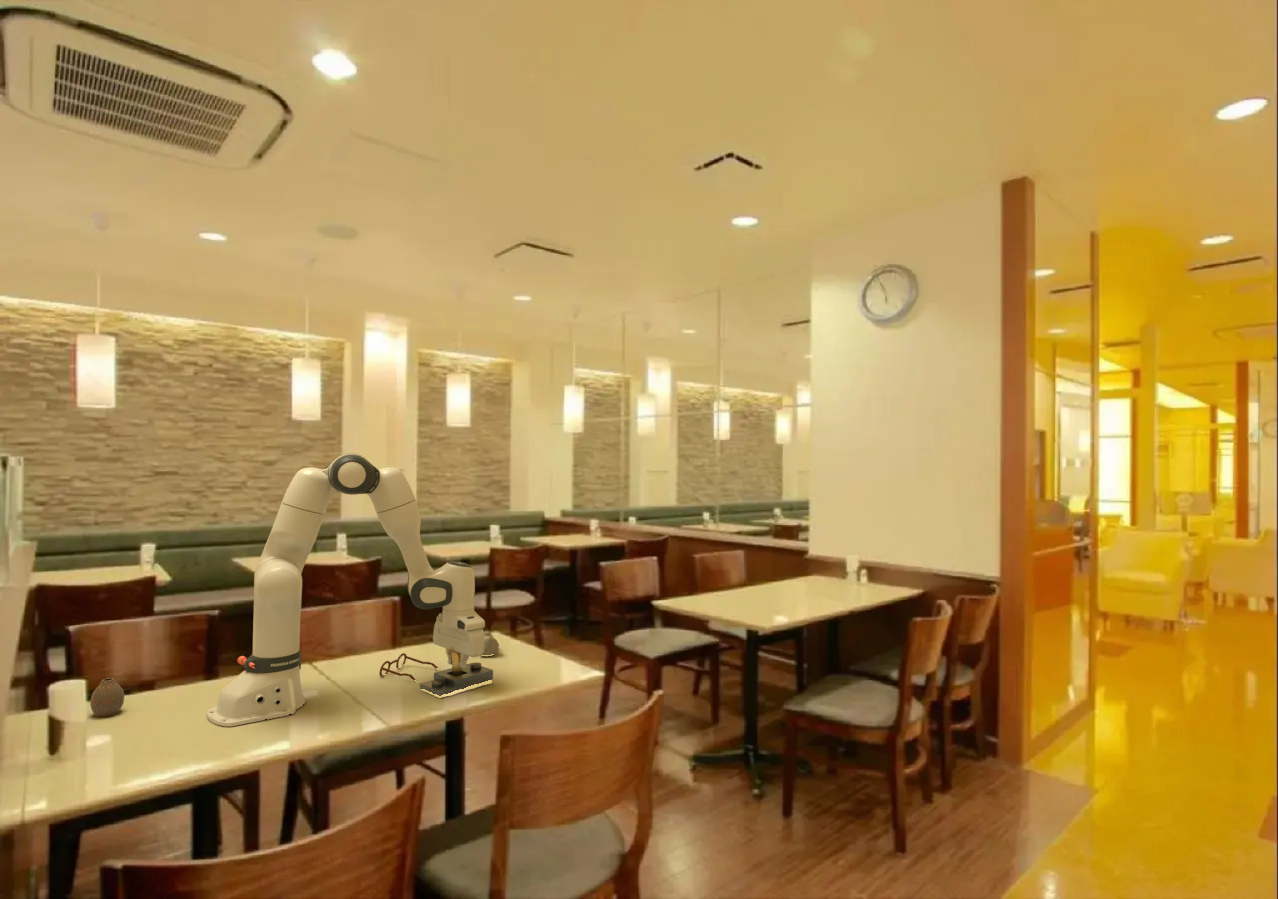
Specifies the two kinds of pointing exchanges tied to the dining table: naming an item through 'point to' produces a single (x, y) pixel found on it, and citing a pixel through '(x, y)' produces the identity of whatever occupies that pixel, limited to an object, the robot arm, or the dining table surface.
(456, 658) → the pin
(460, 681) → the metal plate with knobs
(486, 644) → the ceramic sculpture
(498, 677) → the dining table surface
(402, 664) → the glasses
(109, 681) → the vase
